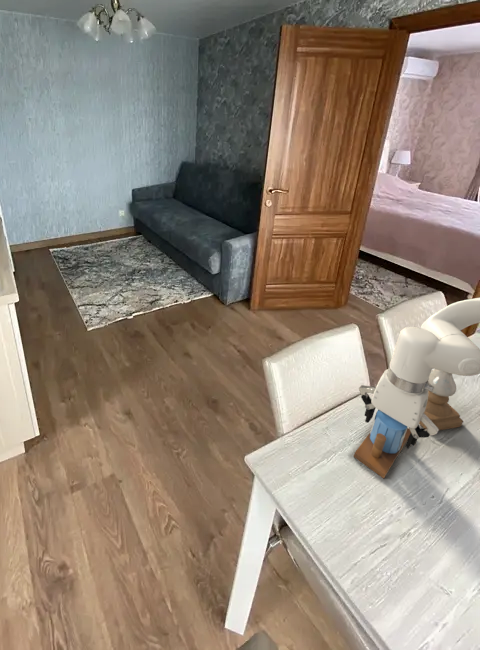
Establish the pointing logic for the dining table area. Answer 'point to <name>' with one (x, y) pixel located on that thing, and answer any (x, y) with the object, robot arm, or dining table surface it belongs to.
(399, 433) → the cup
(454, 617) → the dining table surface
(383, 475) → the rack
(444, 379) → the candle holder
